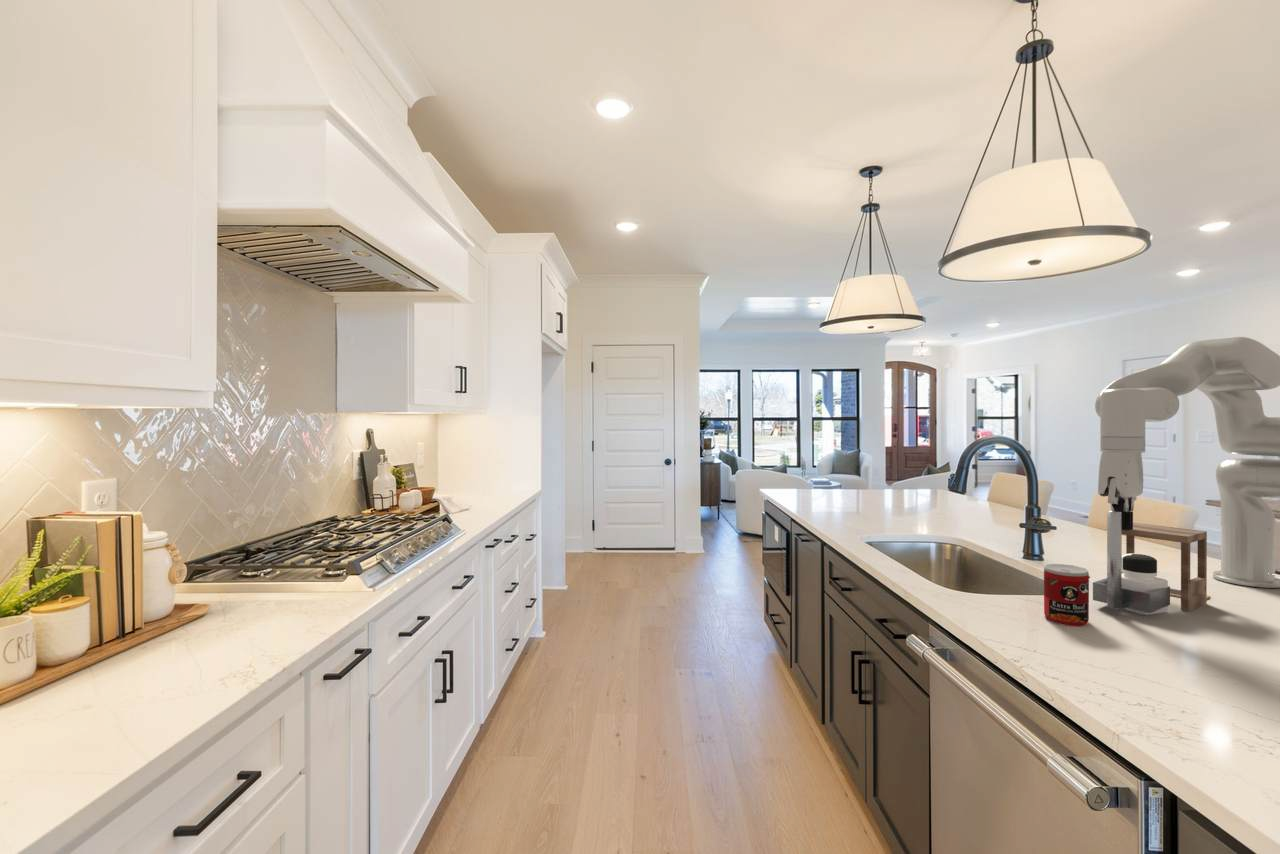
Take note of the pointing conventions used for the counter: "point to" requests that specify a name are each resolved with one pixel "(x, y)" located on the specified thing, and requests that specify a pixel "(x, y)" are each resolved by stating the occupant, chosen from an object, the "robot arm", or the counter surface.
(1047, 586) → the canned food
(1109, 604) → the grey metal post stand
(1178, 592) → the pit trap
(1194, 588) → the walnut tunnel
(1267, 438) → the robot arm
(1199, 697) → the counter surface
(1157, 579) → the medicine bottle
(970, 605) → the counter surface
